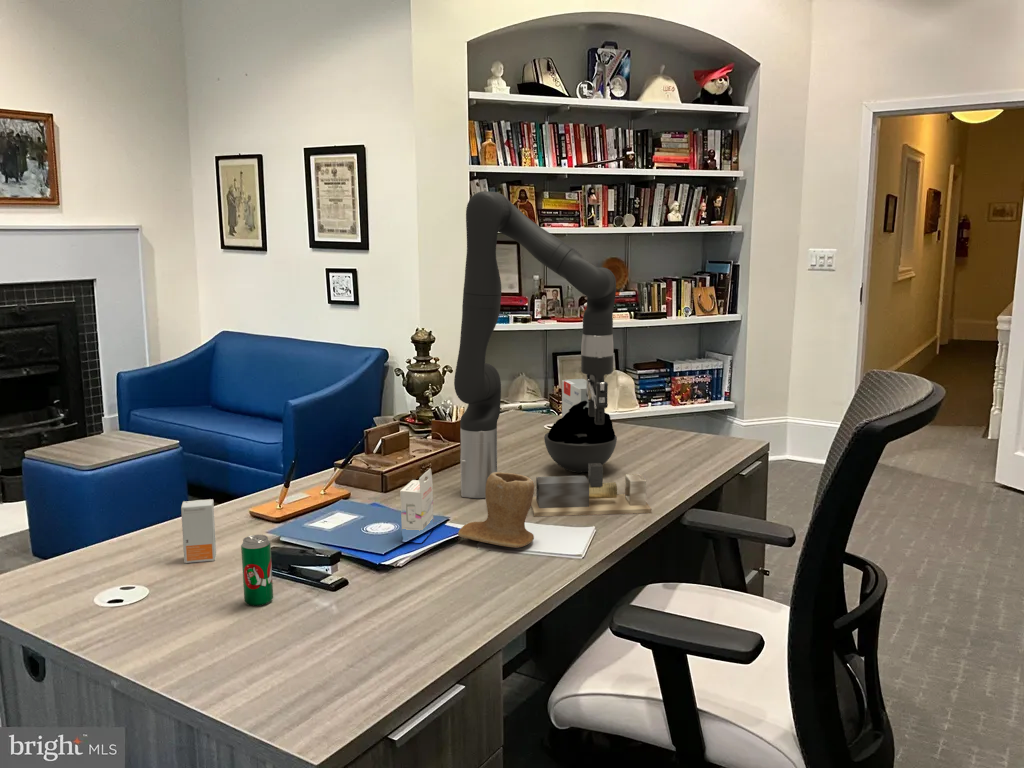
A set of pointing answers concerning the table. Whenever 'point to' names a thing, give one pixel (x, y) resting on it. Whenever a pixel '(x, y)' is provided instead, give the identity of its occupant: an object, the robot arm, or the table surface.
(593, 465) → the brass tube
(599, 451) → the coal bowl
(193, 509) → the skincare box
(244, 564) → the soda can
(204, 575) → the table surface
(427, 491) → the ink cartridge box
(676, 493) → the table surface
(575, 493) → the tube stand
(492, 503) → the brown felt boot
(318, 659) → the table surface
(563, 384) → the hard drive box
